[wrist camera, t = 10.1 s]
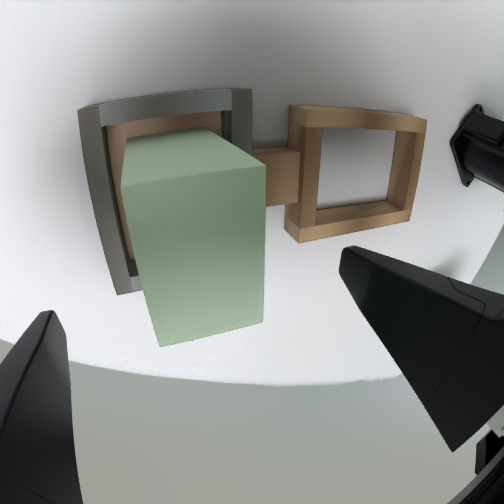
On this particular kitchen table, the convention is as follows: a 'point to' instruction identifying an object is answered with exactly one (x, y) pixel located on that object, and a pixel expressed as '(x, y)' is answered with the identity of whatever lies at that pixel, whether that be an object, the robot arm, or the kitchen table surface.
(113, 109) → the joined double square frame
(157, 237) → the sage peg
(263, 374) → the kitchen table surface
